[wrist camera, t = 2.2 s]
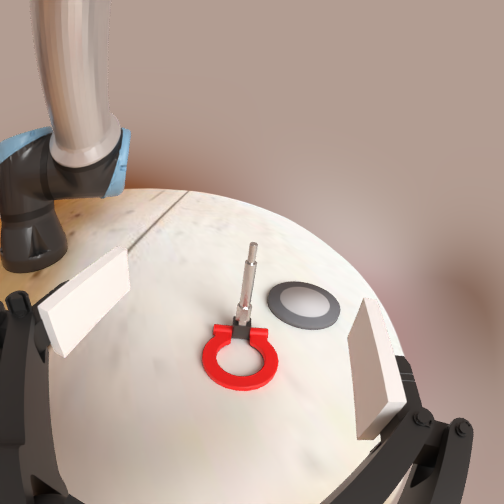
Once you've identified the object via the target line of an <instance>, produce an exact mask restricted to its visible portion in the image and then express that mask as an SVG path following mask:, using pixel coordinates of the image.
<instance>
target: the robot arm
mask: <svg viewBox="0 0 504 504" xmlns="http://www.w3.org/2000/svg"><path fill="white" fill-rule="evenodd" d="M110 8H111V0H30V14H31V25H32V34H33V42H34V49H35V55H36V61H37V66H38V72H39V76H40V81H41V86H42V90H43V94H44V98H45V102H46V106H47V110H48V113H49V117H50V120H51V124H52V127H53V130H52V127H50V126H49V127H43V128H39V129H35V130H32V131H28V132H25V133H22V134H19V135H16V136H13V137H10V138H8V139H6V140H3V141H2V142H0V215H1V222H2V228H1V248H0V256H1V260H2V264H3V266H4V268H5V269H7V270H8V271H11V272H16V273H25V272H32V271H36V270H39V269H42V268H45V267H47V266H49V265H51V264H53V263H55V262H56V261H58V260H59V259H60V258H62V257H63V255H64V254H65V253H66V251H67V240H66V235H65V233H64V231H63V229H62V226H61V224H60V222H59V219H58V217H57V215H56V213H55V209H54V200H62V199H78V198H105V197H112V196H118V195H120V194H121V193H122V192H123V190H124V185H125V176H126V167H127V160H128V153H129V145H130V138H131V132H130V130H128V129H125V128H121V127H120V123H119V120H118V119H117V118H116V116H115V115H114V114H112V113H111V112H110V111H109V91H108V39H109V22H110ZM53 131H54V132H53ZM129 290H130V279H129V269H128V256H127V249H126V248H122V247H118V246H116V247H115V248H113V249H112V250H110V251H109V252H108V253H106V254H105V255H103V256H102V257H101V258H99V259H98V260H96V261H95V262H94V263H92V264H91V265H90V266H88V267H87V268H85V269H84V270H83V271H81V272H80V273H79V274H77V275H76V276H75V277H74V278H72V279H71V280H68V281H65V282H63V283H61V284H59V285H58V286H57V287H56V288H54V290H52V291H51V292H49V294H47V295H45V296H44V297H43V298H42V299H40V300H39V301H38V302H37V303H36V304H34V305H33V306H31V303H30V300H29V297H28V294H27V293H26V292H25V291H15V292H13V293H11V294H9V295H8V296H7V297H6V299H5V301H6V304H7V307H8V310H9V311H8V310H5V308H4V305H3V303H2V302H1V301H0V504H84V503H83V502H81V501H79V500H78V499H76V498H75V497H73V496H71V495H70V494H68V491H67V488H66V486H65V483H64V482H63V480H62V478H61V477H60V474H59V471H58V467H57V462H56V456H55V450H54V443H53V436H52V428H51V418H50V405H49V378H48V364H49V352H48V348H47V347H48V346H49V345H50V343H51V345H52V348H53V350H54V352H55V353H57V354H58V355H60V356H62V357H64V358H66V356H67V355H68V354H69V353H70V352H71V351H72V350H73V349H74V348H75V347H76V345H77V344H78V343H79V342H80V341H81V340H82V339H83V338H84V337H85V336H86V335H87V334H88V332H89V331H90V330H91V329H92V328H93V327H94V326H95V325H96V324H97V323H98V322H99V321H100V320H101V319H102V318H103V317H104V316H105V315H106V314H107V312H108V311H109V310H110V309H111V308H112V307H113V306H114V305H115V304H116V303H117V302H118V301H119V300H120V299H121V298H122V297H123V296H124V295H125V294H126V293H127V292H128V291H129ZM347 339H348V346H349V354H350V362H351V371H352V381H353V391H354V403H355V416H356V432H357V440H374V439H375V438H376V437H377V436H378V435H379V434H380V436H381V441H380V442H379V443H378V444H377V445H376V446H375V447H374V448H373V449H372V450H371V451H370V452H371V453H370V454H369V455H368V456H367V457H366V459H365V460H364V461H363V462H362V463H361V464H360V465H359V466H358V467H357V468H356V469H355V471H354V472H353V473H352V474H351V475H350V476H349V477H348V478H347V479H346V480H345V481H344V482H343V483H342V484H341V485H340V486H339V487H338V488H337V489H336V490H335V491H334V492H332V493H331V494H330V495H329V496H328V497H327V498H326V499H325V500H324V501H323V502H321V503H320V504H383V503H384V502H385V501H386V499H387V498H388V497H389V496H390V494H391V493H392V492H393V490H394V489H395V488H396V486H397V485H398V484H399V482H400V481H401V479H402V478H403V477H404V475H405V474H406V472H407V471H408V469H409V468H410V466H411V465H412V463H413V466H412V468H411V471H410V474H409V477H408V479H407V482H406V485H405V487H404V489H403V492H402V494H401V497H400V499H399V501H398V503H397V504H460V503H461V499H462V496H463V491H464V487H465V483H466V478H467V473H468V468H469V462H470V457H471V450H472V442H473V428H472V426H471V424H470V423H469V422H468V421H467V420H466V419H464V418H456V419H454V420H453V421H452V422H451V423H450V424H446V423H443V422H439V421H436V420H434V417H433V415H432V414H431V412H430V411H429V410H427V409H425V408H423V407H422V404H421V400H420V397H419V393H418V389H417V386H416V383H415V382H414V381H415V379H414V376H413V375H412V374H413V373H412V369H411V366H410V364H409V363H408V361H407V360H406V359H405V357H404V356H395V355H394V351H393V348H392V345H391V341H390V338H389V335H388V332H387V329H386V325H385V322H384V319H383V316H382V313H381V310H380V308H379V305H378V302H377V300H374V299H369V298H363V301H362V303H361V306H360V308H359V311H358V313H357V316H356V318H355V321H354V323H353V326H352V328H351V331H350V333H349V335H348V338H347ZM33 495H34V496H33Z"/></svg>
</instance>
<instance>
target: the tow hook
mask: <svg viewBox="0 0 504 504" xmlns="http://www.w3.org/2000/svg"><path fill="white" fill-rule="evenodd" d="M257 246H258V244H257V243H255V242H251V243H250V247H249V254H248V260H246V261H245V268H244V275H243V282H242V290H241V297H240V302H239V303H238V305H237V311H236V316H234V317H233V325H232V326H229V325H219V324H214V327H213V335H215V337H213V338H212V339H210V340H209V342H208V343H207V344H206V345H205V347H204V350H203V356H202V363H203V367H204V370H205V371H206V373H207V374H208V376H209V377H210V378H211V379H212V380H213V381H214V382H216V383H217V384H219V385H221V386H223V387H225V388H228V389H232V390H236V391H249V390H254V389H258V388H260V387H262V386H264V385H266V384H267V383H268V382H269V381H270V380H272V378H273V377H274V375H275V373H276V371H277V367H278V356H277V353H276V351H275V349H274V347H273V346H272V345H271V344H270V343H269V342H268V341H267V338H268V329H266V328H252V327H251V318H250V315H251V309H252V305H251V304H250V302H251V296H252V290H253V284H254V278H255V272H256V265H257V262H256V261H255V259H256V252H257ZM231 337H232V338H238V339H249V338H250V345H251V346H252V347H254V348H256V349H257V350H258V351H259V352H260V353H261V354H262V356H263V358H264V366H263V367H262V369H261V370H260V371H259V372H257V373H256V374H253V375H250V376H235V375H231V374H229V373H227V372H225V371H224V370H223V369H222V368H221V367H220V366H219V365H218V363H217V360H216V355H217V353H218V351H219V350H220V349H221V348H222V347H224V346H226V345H229V344H230V343H231Z"/></svg>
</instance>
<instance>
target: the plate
mask: <svg viewBox="0 0 504 504" xmlns="http://www.w3.org/2000/svg"><path fill="white" fill-rule="evenodd" d="M268 305H269V308H270V310H271V311H272V313H273V314H274V315H275V316H276V317H277V318H279V319H280V320H282V321H283V322H285V323H287V324H289V325H291V326H294V327H297V328H301V329H308V330H318V329H324V328H327V327H329V326H331V325H333V324H334V323H335V322H336V321H337V319H338V316H339V314H340V305H339V303H338V301H337V300H336V298H335V297H334V296H333V295H331V294H330V293H329V292H327V291H326V290H324V289H322V288H320V287H318V286H315V285H312V284H309V283H304V282H285V283H281V284H278V285H276V286H275V287H273V288H272V289H271V291H270V293H269V297H268Z"/></svg>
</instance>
